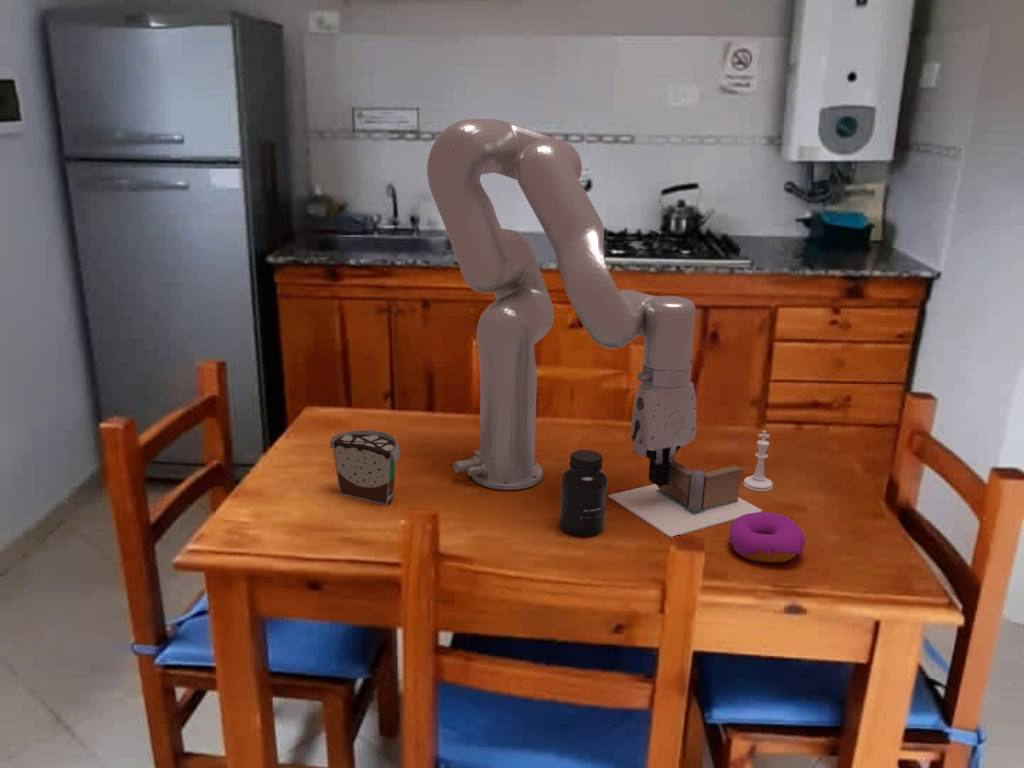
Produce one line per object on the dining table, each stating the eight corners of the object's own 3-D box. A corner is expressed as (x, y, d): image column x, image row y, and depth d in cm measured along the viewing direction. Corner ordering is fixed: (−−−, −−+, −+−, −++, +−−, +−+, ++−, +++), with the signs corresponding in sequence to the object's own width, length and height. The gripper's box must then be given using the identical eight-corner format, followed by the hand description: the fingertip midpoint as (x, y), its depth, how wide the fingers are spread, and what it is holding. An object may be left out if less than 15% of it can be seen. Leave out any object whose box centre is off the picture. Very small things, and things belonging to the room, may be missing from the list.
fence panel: (693, 503, 137) (696, 473, 135) (685, 505, 136) (688, 474, 134) (664, 486, 143) (666, 456, 141) (656, 487, 142) (659, 458, 140)
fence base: (670, 538, 127) (674, 495, 125) (608, 496, 140) (610, 457, 138) (762, 512, 136) (767, 472, 134) (695, 475, 149) (699, 438, 147)
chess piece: (773, 492, 143) (781, 438, 140) (744, 489, 144) (750, 435, 141) (771, 481, 148) (778, 427, 145) (742, 478, 149) (748, 425, 146)
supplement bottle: (591, 542, 125) (595, 468, 122) (551, 530, 129) (554, 457, 125) (611, 524, 131) (616, 453, 127) (572, 513, 134) (576, 443, 131)
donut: (732, 528, 131) (735, 501, 129) (804, 541, 127) (808, 513, 126) (723, 560, 121) (726, 531, 120) (800, 575, 118) (804, 545, 116)
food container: (415, 493, 140) (414, 436, 137) (395, 507, 135) (394, 449, 132) (353, 478, 145) (351, 424, 142) (332, 492, 140) (329, 436, 136)
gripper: (642, 389, 126) (635, 501, 131) (718, 375, 133) (709, 482, 138) (613, 375, 132) (607, 483, 138) (687, 363, 139) (679, 466, 145)
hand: (658, 482), depth 138 cm, fingers closed
